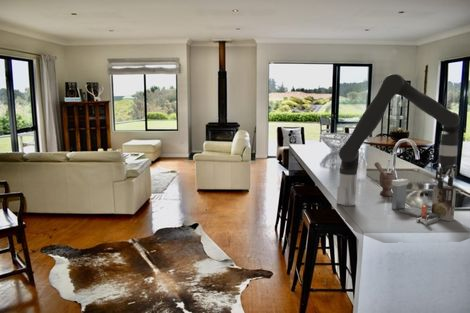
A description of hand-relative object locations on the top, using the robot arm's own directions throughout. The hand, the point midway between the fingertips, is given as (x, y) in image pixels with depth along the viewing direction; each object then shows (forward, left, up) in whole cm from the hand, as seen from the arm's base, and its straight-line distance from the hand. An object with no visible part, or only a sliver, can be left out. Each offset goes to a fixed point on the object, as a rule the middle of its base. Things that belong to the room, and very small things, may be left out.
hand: (445, 187), depth 185 cm
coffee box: (0, 0, -16) cm, 16 cm away
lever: (-14, +1, -15) cm, 21 cm away
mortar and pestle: (+12, +43, -16) cm, 47 cm away
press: (-7, +11, -16) cm, 21 cm away
